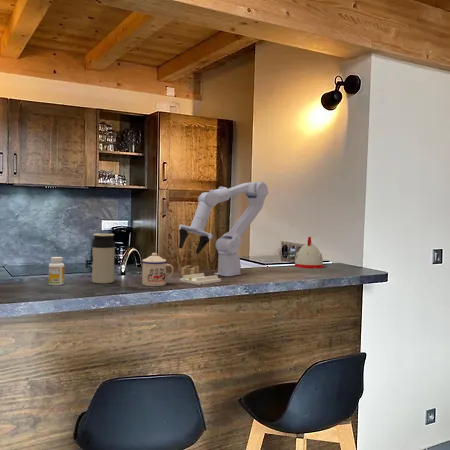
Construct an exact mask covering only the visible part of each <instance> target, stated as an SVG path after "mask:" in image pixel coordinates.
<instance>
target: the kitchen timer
mask: <svg viewBox="0 0 450 450" xmlns="http://www.w3.org/2000/svg"><path fill="white" fill-rule="evenodd" d="M294 261H295V262H294V267H296V268H301V269H322V267H324V262H323V253H321V252H320V250H319V248H318V247H317V246H316V245H315V244H314V243H312V237H311V236H308V237H307V243H305V244H303V245H302V246H301V248H299V250H298V252H296V253H295V259H294Z"/></svg>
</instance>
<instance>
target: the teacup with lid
mask: <svg viewBox="0 0 450 450" xmlns="http://www.w3.org/2000/svg"><path fill="white" fill-rule="evenodd" d="M141 263H142V273H141V276H142V277H141V281H142V282H141V284H142V285H143V286H145V287H163V286H165V285H166V284H167V278H170V277H171V276H172V275H173V273H174V266H173V265H172V264H169V263H168V262H167V259H165V258H162V257H161V256H160V255H158V253H157V252H152V253H151V255H150V256H148V257H146V258H143V259H142V260H141ZM167 267H169V268H170V272H169V274H167Z"/></svg>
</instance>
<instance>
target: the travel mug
mask: <svg viewBox="0 0 450 450" xmlns="http://www.w3.org/2000/svg"><path fill="white" fill-rule="evenodd" d="M114 236H115V234H114V233H93V238H94V239H93V241H92V249H91V250H92V263H91V264H92V265H91V266H92V267H91V272H92V273H91V282H92V283H94V284H105V285H106V284H111V283H113V282H115V247H116V246H115V241H114Z"/></svg>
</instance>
